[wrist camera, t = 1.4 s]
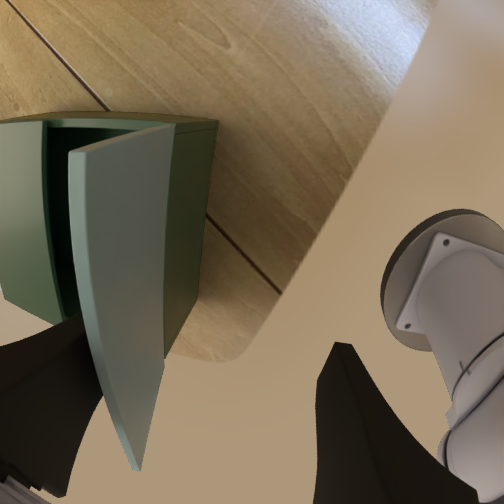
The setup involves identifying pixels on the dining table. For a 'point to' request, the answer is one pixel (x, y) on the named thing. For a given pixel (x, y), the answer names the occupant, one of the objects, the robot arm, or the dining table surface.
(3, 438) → the robot arm
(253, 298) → the dining table surface
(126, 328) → the hatch
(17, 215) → the seed box
